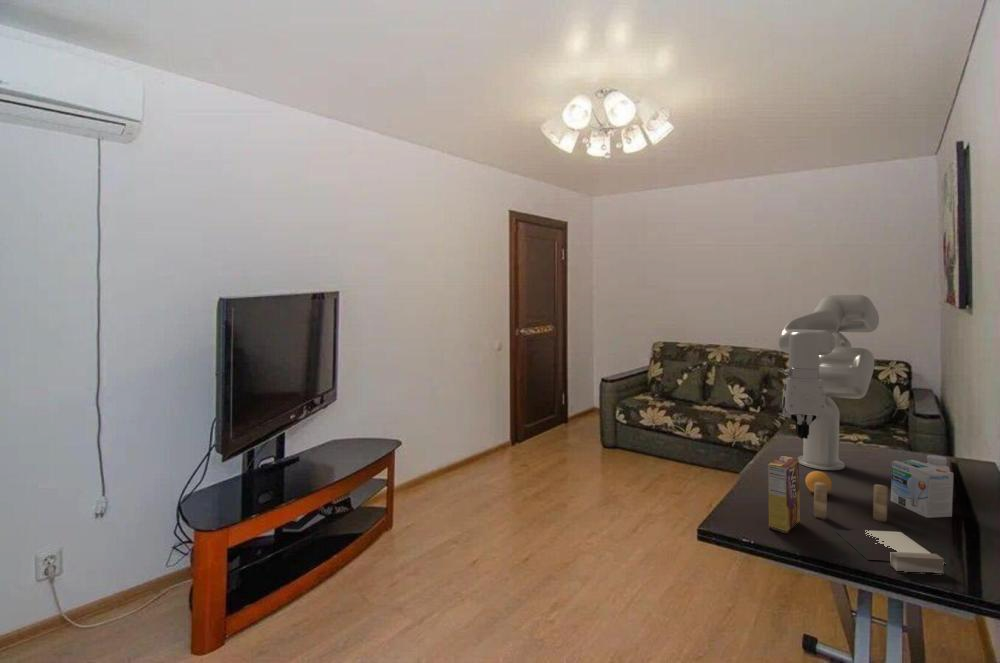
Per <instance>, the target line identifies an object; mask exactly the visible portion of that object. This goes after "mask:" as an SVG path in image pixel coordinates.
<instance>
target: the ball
mask: <svg viewBox="0 0 1000 663" xmlns="http://www.w3.org/2000/svg"><path fill="white" fill-rule="evenodd" d="M816 482H819V483H824V484H826V485H827V493H828V492H829V491H830V490H831V489H832V480H831V478H830V476H829V475H828V474H827V473H825V472H823V471H819V470H814V471H811V472H809V473H808V474H807V475H806V477H805V485H806V487H807V488H808V490H810V492H812V493H814V483H816Z"/></svg>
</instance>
